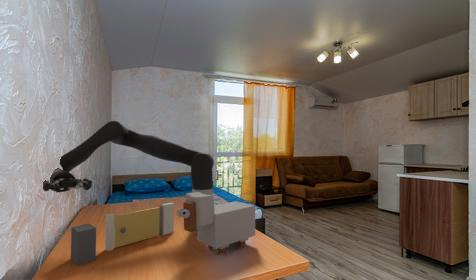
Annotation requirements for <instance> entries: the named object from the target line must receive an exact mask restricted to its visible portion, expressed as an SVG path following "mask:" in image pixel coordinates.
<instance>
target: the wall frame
mask: <svg viewBox="0 0 476 280" xmlns="http://www.w3.org/2000/svg"><path fill="white" fill-rule="evenodd" d="M159 208H160V212H159V236H165V235H168V234H169V235H170V234H172V233H174V232H175V231H174V230H175V228H174V227H175V226H174V225H175V224H174V223H175V221H174V220H175V219H174V218H175V215H174V214H175V203H174V202H169V203H168V202H167V203H163V204H159ZM114 215H115V214H114V213H107V214H105V240H104V241H105V243H104V245H105V246H104V247H105V248H104V249H105V251H106V252H110V251H113V250H115V248H114Z"/></svg>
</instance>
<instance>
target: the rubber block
mask: <svg viewBox="0 0 476 280" xmlns="http://www.w3.org/2000/svg"><path fill="white" fill-rule="evenodd" d="M70 235H71V236H70V260H71V261H72V262H73V264H75V266H77V267H78V266H82V265H84V264H85V265H86V264H88V263H92V262H94V261H96V258H97V257H96V254H97V251H96V250H97V227H95V226H94V225H92V224H91V223H85V224H80V225H79V224H78V225H74V226H71V234H70Z"/></svg>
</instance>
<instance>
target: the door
mask: <svg viewBox="0 0 476 280" xmlns="http://www.w3.org/2000/svg"><path fill="white" fill-rule="evenodd" d="M159 207H160V206H159ZM159 207H158V206H157V207H152V208H147V209H146V208H145V209H141V210H140V209H139V210H136V211H130V212H126V213H125V212H124V213H120V214H114V249H115V248H120V247H122V246H123V247H124V246H126V245H129V244H133V243H137V242H141V241H144V240H147V239H151V238H155V237H158V236H159V212H160V208H159Z"/></svg>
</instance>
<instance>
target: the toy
mask: <svg viewBox="0 0 476 280" xmlns="http://www.w3.org/2000/svg"><path fill="white" fill-rule="evenodd" d="M182 203H183V207H179V208H178V209H177V211H176V215H177V216H178V217H180V218H181V217H182V218H183V230H184V231H186V232H189V233H194V232H196V231H197V234H196V235H197V237H196V238H197V241H199V242H202V243H204V244H206V245H207V248H208V249H210V250H215V249H217V250H216V251H217V254H219V255H224V254H226V253H227V248H229V247H230V245H231V244H234V243H237V247H240V248H244V247H245V246H246V241H248V240H249V238H251V237H255V236H256V205H253V204H249V203H245V202H240V201H231V202H227V203H226V202H225V203H221V204H216V205H215V200H214V194H213V195H205V194H203V193H200V192H194V193H192V192H189V193H187V192H186V194H185V201H183V202H182ZM196 226H197V230H196Z"/></svg>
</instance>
